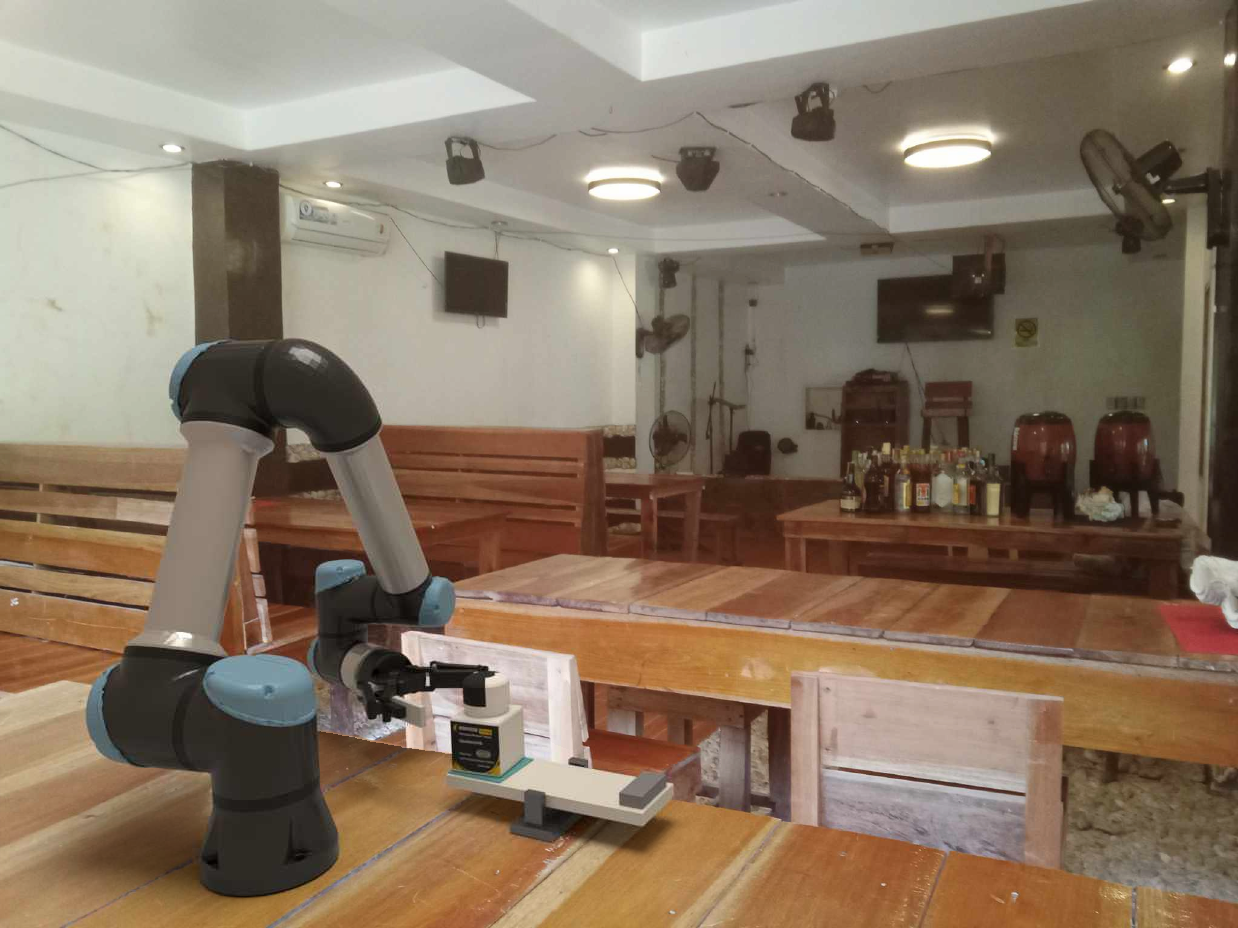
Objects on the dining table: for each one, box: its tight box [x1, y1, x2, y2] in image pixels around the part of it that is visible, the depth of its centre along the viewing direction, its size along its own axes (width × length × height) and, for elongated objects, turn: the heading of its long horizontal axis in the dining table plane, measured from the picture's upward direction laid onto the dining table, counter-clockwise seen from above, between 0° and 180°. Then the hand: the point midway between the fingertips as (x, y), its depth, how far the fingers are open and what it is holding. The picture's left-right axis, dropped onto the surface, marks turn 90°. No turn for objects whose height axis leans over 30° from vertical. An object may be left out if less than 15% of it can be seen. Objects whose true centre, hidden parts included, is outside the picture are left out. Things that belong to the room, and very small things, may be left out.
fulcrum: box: [509, 756, 589, 843], centre depth 120 cm, size 6×13×5 cm, turn 153°
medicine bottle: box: [449, 670, 526, 777], centre depth 124 cm, size 7×7×12 cm
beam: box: [445, 756, 675, 827], centre depth 120 cm, size 28×9×3 cm, turn 63°
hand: (465, 703), depth 128 cm, fingers open, 13 cm apart
